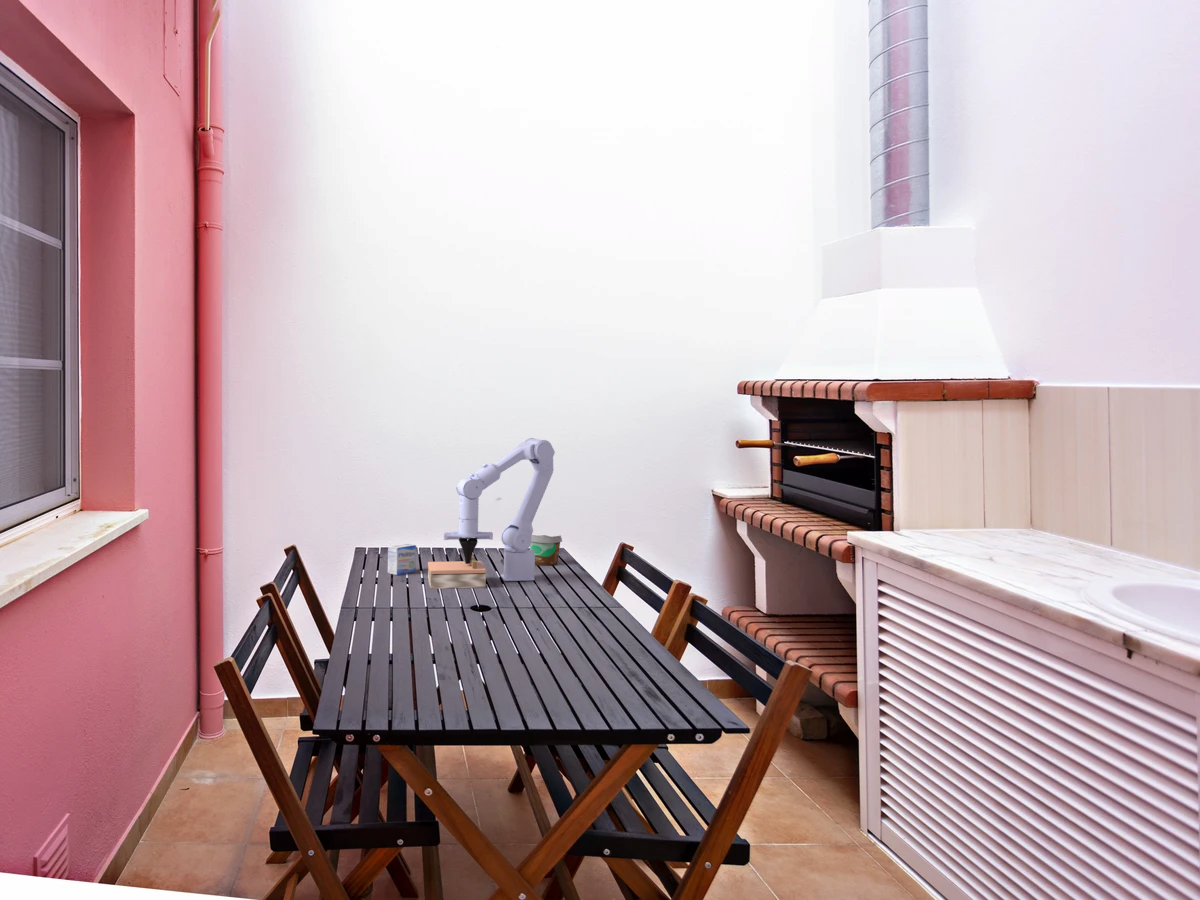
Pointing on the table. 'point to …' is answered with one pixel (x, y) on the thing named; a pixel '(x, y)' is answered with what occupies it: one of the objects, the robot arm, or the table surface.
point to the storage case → (457, 580)
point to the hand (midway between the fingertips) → (467, 563)
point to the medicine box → (402, 559)
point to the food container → (545, 549)
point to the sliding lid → (456, 567)
